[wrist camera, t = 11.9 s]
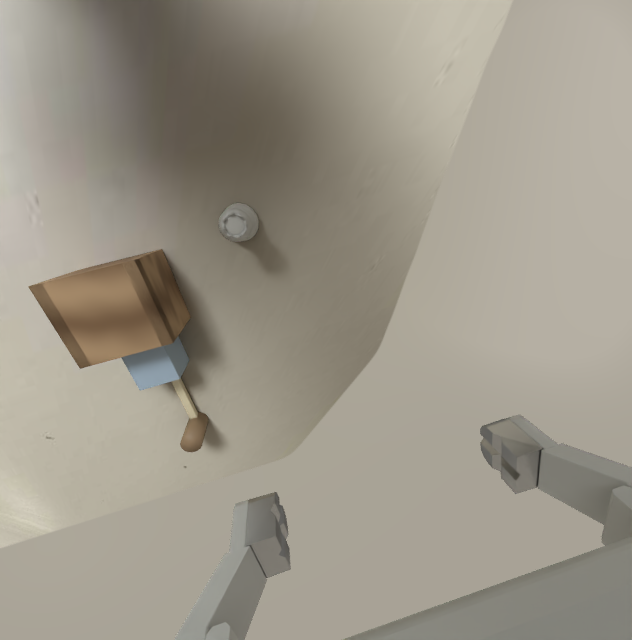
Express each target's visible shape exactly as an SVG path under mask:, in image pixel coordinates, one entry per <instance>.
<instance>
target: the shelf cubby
mask: <svg viewBox="0 0 632 640" xmlns="http://www.w3.org/2000/svg"><path fill="white" fill-rule="evenodd" d="M28 287H29V289H30V290H31V292H32V293H33V295H34V296H35V298H36V300H37V301H38V303H39V304H40V306H41V308H42V309H43V311H44V312H45V314H46V315H47V317H48V319H49V320H50V322H51V323H52V325H53V327H54V328H55V330H56V331H57V333H58V335H59V336H60V338H61V339H62V341H63V342H64V344H65V346H66V347H67V349H68V350H69V352H70V354H71V355H72V357H73V358H74V360H75V362H76V363H77V365H78V366H79V368H84V367H88V366H91V365H95V364H99V363H102V362H106V361H110V360H113V359H117V358H121V357H124V356H128V355H132V354H135V353H139V352H143V351H146V350H150V349H154V348H157V347H161V346H165V345H168V344H172V343H174V341H175V340H176V338H177V337H178V335H179V334H180V333H181V331H182V330H183V328H184V327H185V325H186V324H187V322H188V321H189V319H190V318H191V316H190V314H189V312H188V309H187V307H186V305H185V302H184V300H183V298H182V295H181V293H180V290H179V288H178V286H177V283H176V281H175V279H174V276H173V274H172V272H171V269H170V267H169V265H168V262H167V260H166V258H165V255H164V253H163V250H162V249H161V250H157V251H153V252H149V253H145V254H141V255H137V256H133V257H129V258H125V259H121V260H117V261H113V262H109V263H105V264H101V265H97V266H93V267H89V268H85V269H81V270H77V271H74V272H71V273H68V274H65V275H62V276H59V277H56V278H53V279H50V280H47V281H44V282H41V283H38V284H35V285H32V286H28Z"/></svg>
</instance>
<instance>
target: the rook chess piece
mask: <svg viewBox="0 0 632 640" xmlns="http://www.w3.org/2000/svg"><path fill="white" fill-rule="evenodd" d="M258 227H259V220H258V217H257V214H256V213H255V211H254V210H253V209H252V208H251V207H249V206H248V205H246V204H242V203H235V204H231V205H230V206H228V207H227V208H226V209H225V210H224V212H223V213H222V214H221V216H220V218H219V229H220V232H221V233H222V234H223V236H224V237H225V238H227V239H228V240H230V241H234V242H239V241H241V242H242V241H246V240H250V239H251V238H252V237H253V236H255V234H256V232H257V231H258Z"/></svg>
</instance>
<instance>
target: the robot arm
mask: <svg viewBox="0 0 632 640" xmlns="http://www.w3.org/2000/svg"><path fill="white" fill-rule="evenodd" d="M480 434H481V435H482V436H483V437H484V438H483V440H482V441H481V451H482V453H483V455H484V457H485V459H486V461H487V462H488V463H489V465H491V467H492V468H494V469H496V470H499V471H500V472H501V478H502V479H503V480H504V481H505V483H506V484H507V485H508V486H509V487H510V488H511V489H512V491H513V492H514V493H515V494H517V493H520V492H523V491H527V490H530V489H533V488H537V487H538V489H540V490H541V491H543V492H545V493H547V494H549V495H551V496H553V497H554V498H556V499H558V500H560V501H562V502H563V503H565V504H567V505H569V506H571V507H573V508H574V509H576V510H578V511H580V512H582V513H583V514H585V515H587V516H589V517H591V518H592V519H594V520H596V521H598V522H600V523H602V524H603V525H604V529H603V533H602V543H603V544H604V545H605V546H604V547H601V548H598V549H595V550H593V551H590V552H587V553H584V554H581V555H579V556H576V557H573V558H570V559H567V560H565V561H562V562H559V563H556V564H553V565H550V566H548V567H545V568H542V569H539V570H536V571H533V572H531V573H528V574H525V575H522V576H519V577H517V578H514V579H511V580H508V581H506V582H503V583H500V584H497V585H495V586H491V587H489V588H486V589H483V590H480V591H477V592H475V593H472V594H469V595H466V596H463V597H460V598H458V599H455V600H452V601H449V602H446V603H444V604H441V605H438V606H435V607H432V608H430V609H427V610H424V611H421V612H418V613H416V614H413V615H410V616H407V617H405V618H402V619H399V620H396V621H393V622H390V623H388V624H385V625H382V626H379V627H377V628H374V629H371V630H368V631H365V632H362V633H360V634H357V635H354V636H351V637H348V638H346V639H343V640H632V467H630V466H627V465H624V464H621V463H618V462H615V461H612V460H609V459H606V458H603V457H600V456H597V455H595V454H592V453H589V452H586V451H583V450H580V449H577V448H574V447H571V446H568V445H565V444H557V443H556V442H555V441H553V440H552V439H551V438H550V437H548V436H547V435H546V434H544V433H543V432H542V431H541V430H539V429H538V428H537V427H536V426H534V425H533V424H532V423H530V422H529V421H528V420H527V419H525V418H524V417H523V416H521V415H516V416H512V417H509V418H506V419H502V420H499V421H496V422H493V423H490V424H487V425H484V426H482V427H481V429H480ZM287 536H288V526H287V520H286V515H285V512H284V509H283V506H281V505H280V504H279V497H278V494H277V493H276V492H274V493H270V494H267V495H263V496H260V497H256V498H253V499H249V500H246V501H243V502H239V503H236V504H235V507H234V512H233V521H232V531H231V540H230V549H229V552H228V553H226V554H225V555H224V556H223V558H222V560H221V562H220V563H219V565H218V566H217V568H216V570H215V571H214V573H213V575H212V576H211V578H210V580H209V582H208V583H207V585H206V587H205V588H204V590H203V592H202V593H201V595H200V597H199V599H198V600H197V602H196V604H195V605H194V607H193V608H192V610H191V612H190V614H189V615H188V617H187V619H186V620H185V622H184V624H183V625H182V627H181V629H180V630H179V632H178V634H177V636H176V637H175V640H244V639H245V636H246V634H247V631H248V629H249V626H250V624H251V621H252V618H253V615H254V613H255V610H256V607H257V605H258V602H259V600H260V597H261V595H262V592H263V589H264V587H265V584H266V581H267V579H266V578H268V577H271V576H274V575H277V574H279V573H282V572H285V571H287V570H290V569H291V568H290V552H289V546H288V544H287V541H286V538H287Z"/></svg>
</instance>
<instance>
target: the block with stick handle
mask: <svg viewBox="0 0 632 640" xmlns="http://www.w3.org/2000/svg"><path fill="white" fill-rule="evenodd" d="M121 358H122V359H123V361H124V363H125V365H126V367H127V368H128V370H129V372H130V374H131V375H132V377H133V379H134V381H135V383H136V384H137V386H138V388H139V390H144V389H147V388H151V387H154V386H157V385H161V384H164V383H168V382H172V384H173V386H174V388H175V390H176V392H177V394H178V396H179V398H180V400H181V402H182V404H183V406H184V408H185V410H186V412H187V414H188V416H189V421H188V423H187V426H186V429H185V432H184V434H183V437H182V440H181V443H180V445H181V448H182V449H183V450H185V451H187V452H195V451H197V450H199V449H200V448H201V446H202V443H203V439H204V435H205V432H206V428H207V424H208V417H207V415H206V414H204V413H201V412H197V410H196V408H195V406H194V404H193V402H192V400H191V398H190V396H189V394H188V392H187V390H186V388H185V386H184V384H183V382H182V380H181V376H182V374H183V372H184V370H185V368H186V366H187V364H188V362H189V358H188V356H187V354H186V352H185V349H184V347H183V345H182V343H181V341H180V339H179V336H178V337H177V338H176V340H175V341H174V343H172V344H168V345H165V346H161V347H157V348H154V349H150V350H146V351H143V352H139V353H135V354H132V355H128V356H124V357H121Z"/></svg>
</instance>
